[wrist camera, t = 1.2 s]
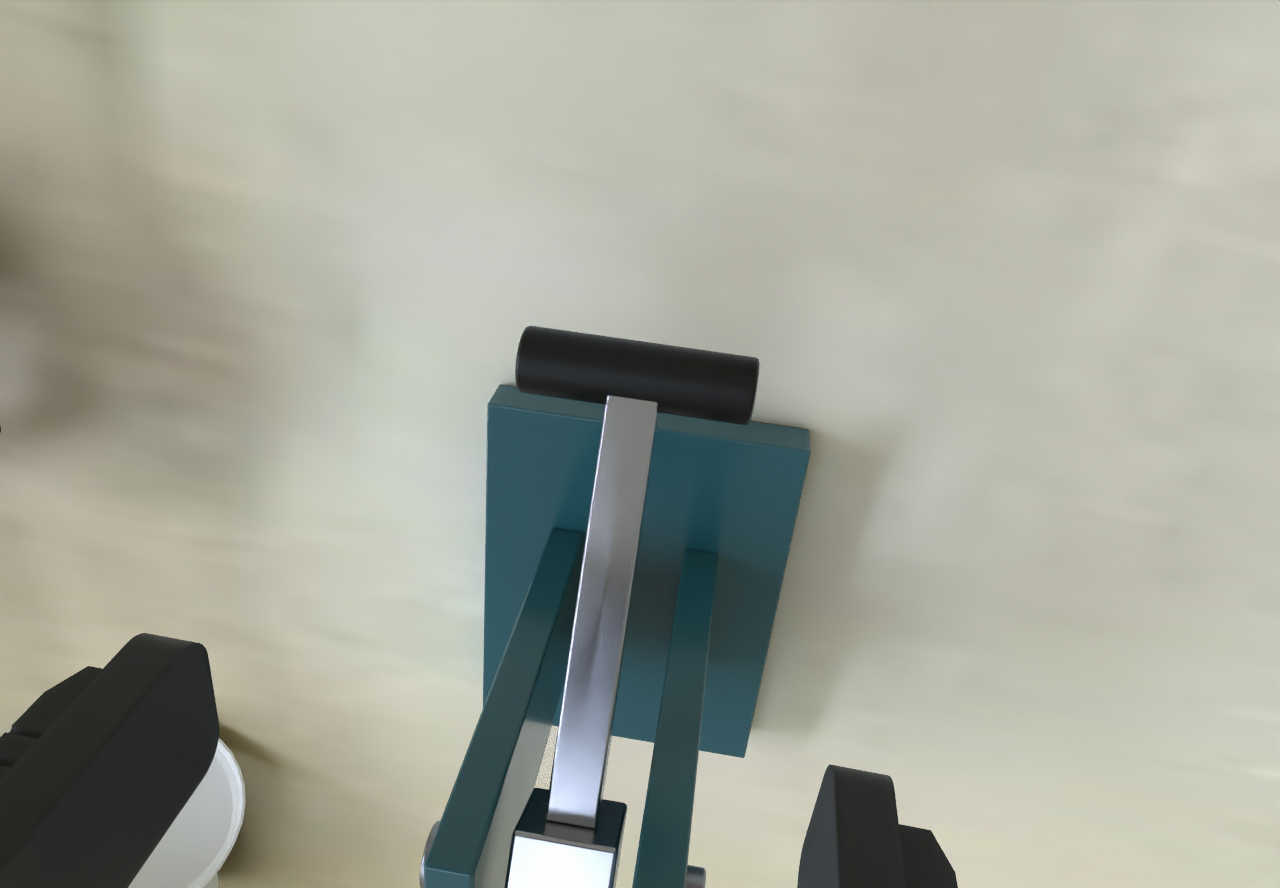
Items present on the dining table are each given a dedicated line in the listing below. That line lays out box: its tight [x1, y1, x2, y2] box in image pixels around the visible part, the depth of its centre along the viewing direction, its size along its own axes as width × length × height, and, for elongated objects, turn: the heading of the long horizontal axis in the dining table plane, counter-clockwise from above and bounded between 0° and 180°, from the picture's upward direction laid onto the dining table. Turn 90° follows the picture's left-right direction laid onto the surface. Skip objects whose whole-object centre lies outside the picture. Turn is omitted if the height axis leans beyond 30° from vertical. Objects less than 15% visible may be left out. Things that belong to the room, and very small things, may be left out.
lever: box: [504, 326, 759, 888], centre depth 20 cm, size 13×5×2 cm, turn 174°
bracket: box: [420, 385, 810, 888], centre depth 24 cm, size 12×9×13 cm
